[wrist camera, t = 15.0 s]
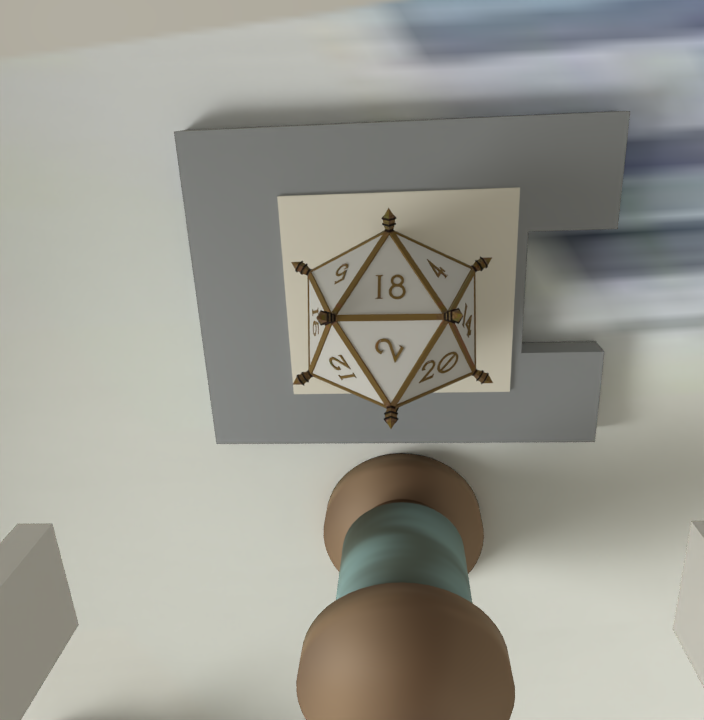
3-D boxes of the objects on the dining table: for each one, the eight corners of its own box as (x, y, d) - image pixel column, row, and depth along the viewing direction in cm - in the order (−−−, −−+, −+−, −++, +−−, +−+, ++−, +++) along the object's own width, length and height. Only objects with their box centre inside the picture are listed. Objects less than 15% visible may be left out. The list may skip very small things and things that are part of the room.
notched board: (223, 431, 36) (215, 445, 35) (184, 130, 30) (172, 132, 29) (587, 428, 35) (595, 443, 33) (618, 111, 29) (631, 111, 27)
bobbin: (330, 581, 40) (304, 767, 29) (321, 453, 36) (287, 607, 25) (478, 583, 39) (509, 774, 28) (482, 453, 36) (520, 610, 25)
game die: (414, 246, 34) (556, 206, 25) (416, 408, 34) (557, 426, 25) (250, 233, 30) (349, 180, 21) (253, 417, 30) (352, 444, 21)
